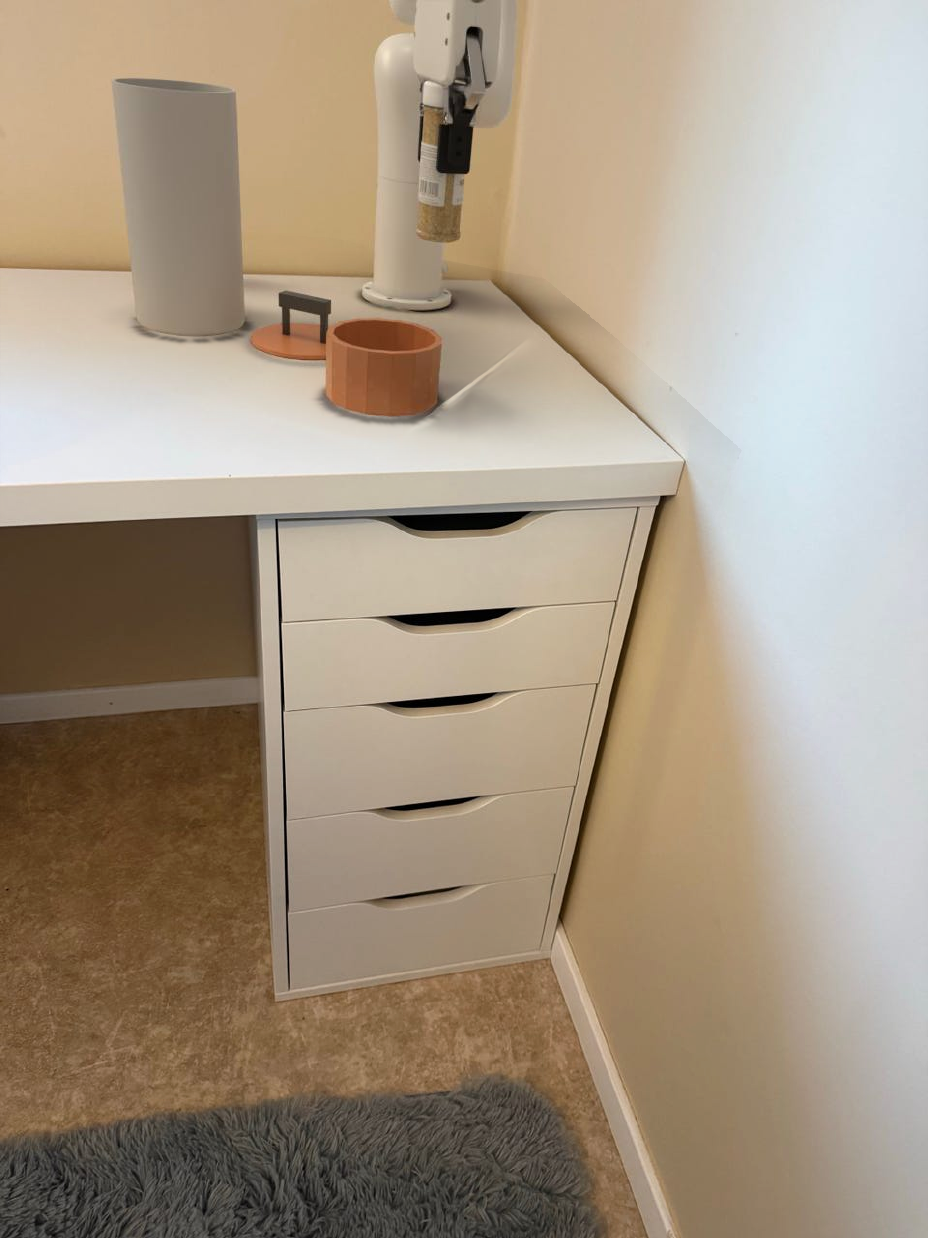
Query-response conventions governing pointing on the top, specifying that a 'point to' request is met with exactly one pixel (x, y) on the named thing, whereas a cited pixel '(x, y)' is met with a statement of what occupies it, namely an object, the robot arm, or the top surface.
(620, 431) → the top surface
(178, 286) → the cylinder vase
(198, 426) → the top surface
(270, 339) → the lid
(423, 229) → the sprinkles bottle
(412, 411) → the pot
